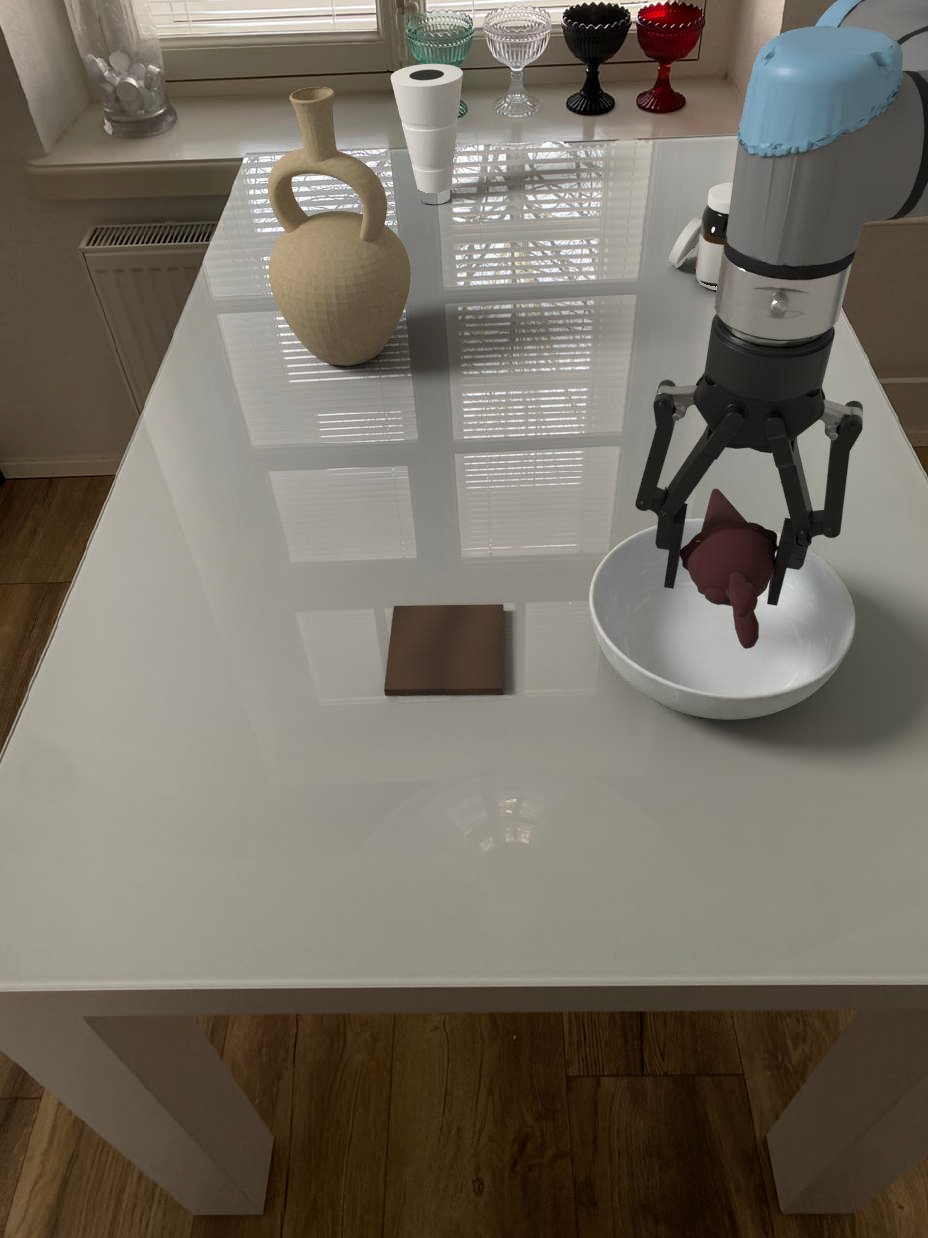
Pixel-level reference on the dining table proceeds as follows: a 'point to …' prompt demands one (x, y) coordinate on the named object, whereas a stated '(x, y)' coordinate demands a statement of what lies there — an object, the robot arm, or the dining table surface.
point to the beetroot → (732, 563)
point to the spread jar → (707, 235)
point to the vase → (334, 248)
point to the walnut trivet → (446, 650)
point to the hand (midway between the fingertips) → (721, 584)
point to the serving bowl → (717, 633)
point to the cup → (429, 120)
